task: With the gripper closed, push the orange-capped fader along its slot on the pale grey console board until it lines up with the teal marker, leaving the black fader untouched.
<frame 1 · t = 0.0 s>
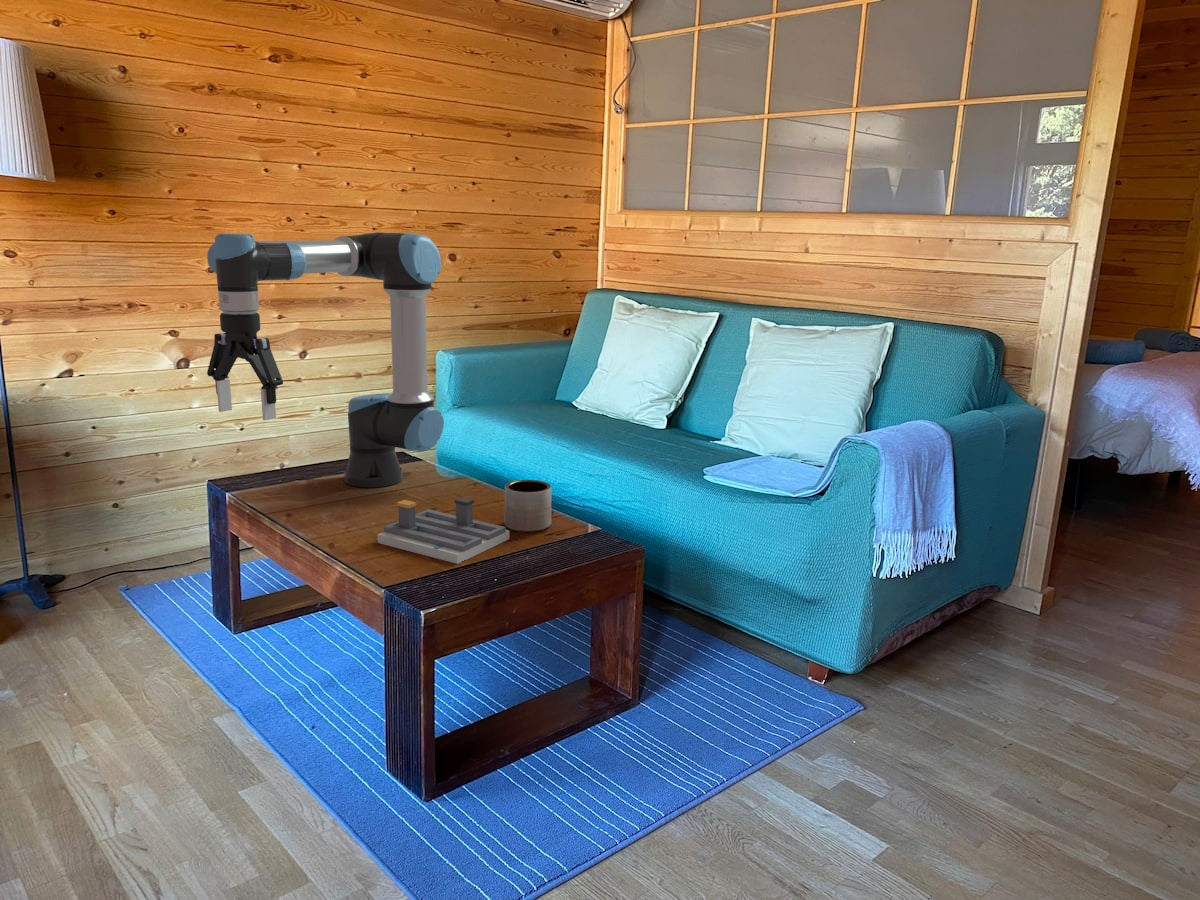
hand: (247, 415, 188), 28 cm above the table, fingers open, 13 cm apart
fader a: (407, 516, 197), point 5 cm above the table, slide at 0.0 cm
planter: (527, 526, 210), on the table
console: (444, 540, 198), on the table
fader b: (464, 513, 200), point 5 cm above the table, slide at 9.0 cm
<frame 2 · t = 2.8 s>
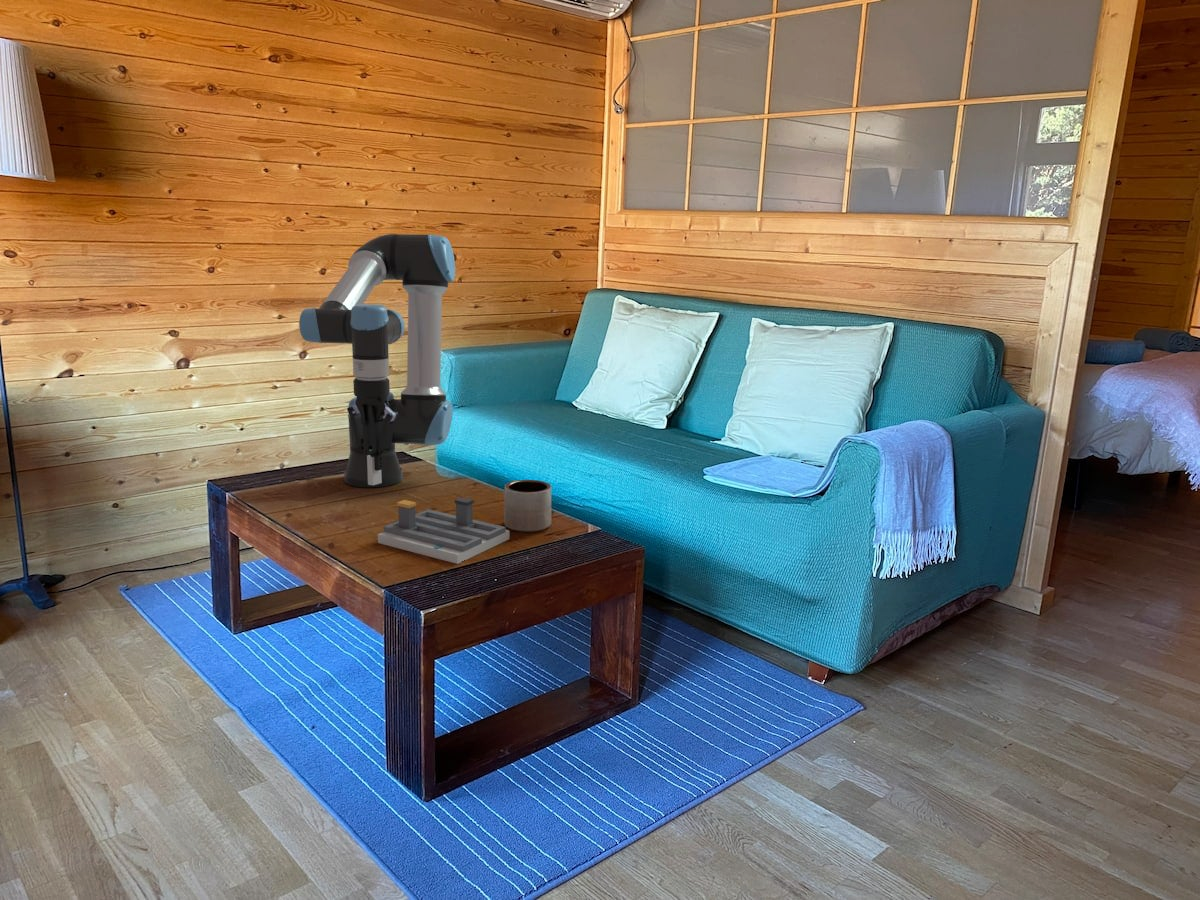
hand: (374, 483, 200), 11 cm above the table, fingers closed
nothing on the table moved.
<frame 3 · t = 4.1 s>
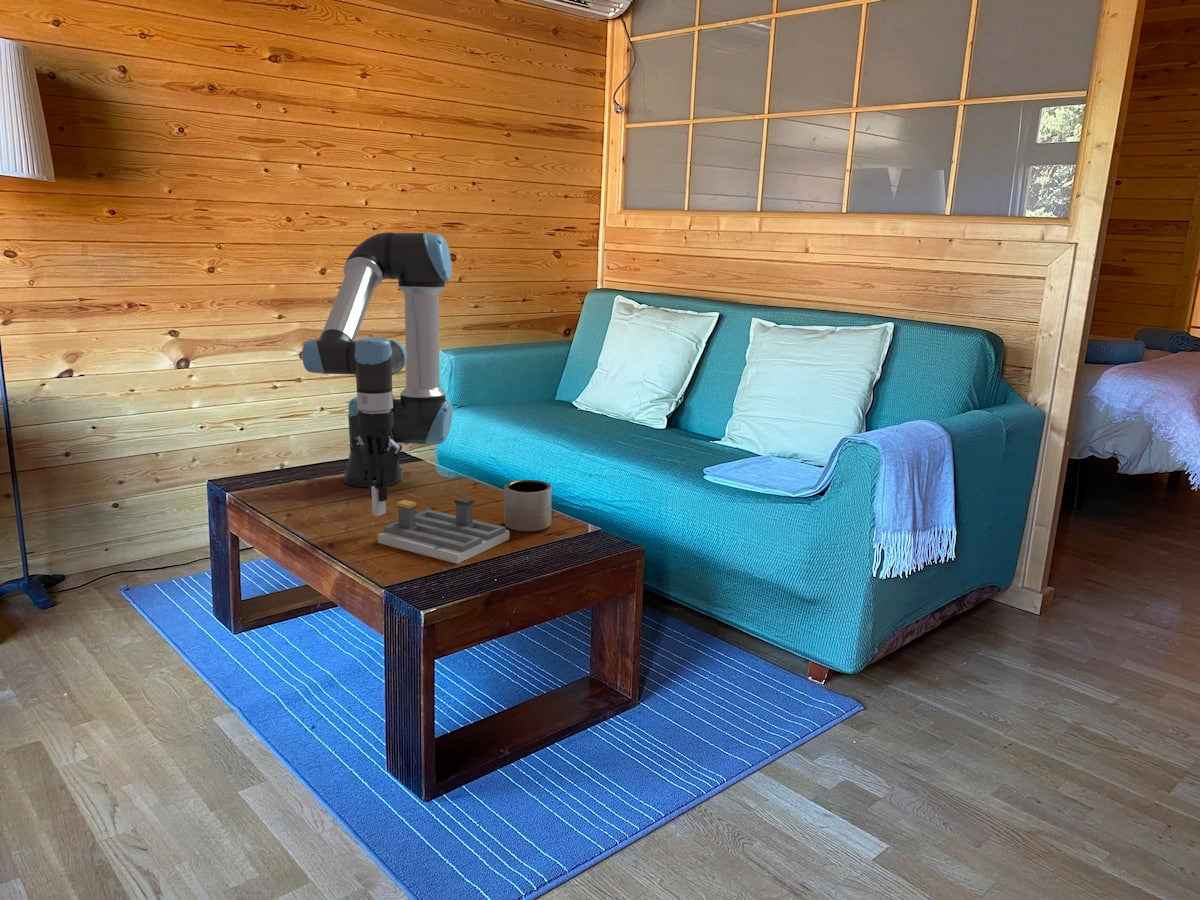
hand: (379, 513, 201), 4 cm above the table, fingers closed
nothing on the table moved.
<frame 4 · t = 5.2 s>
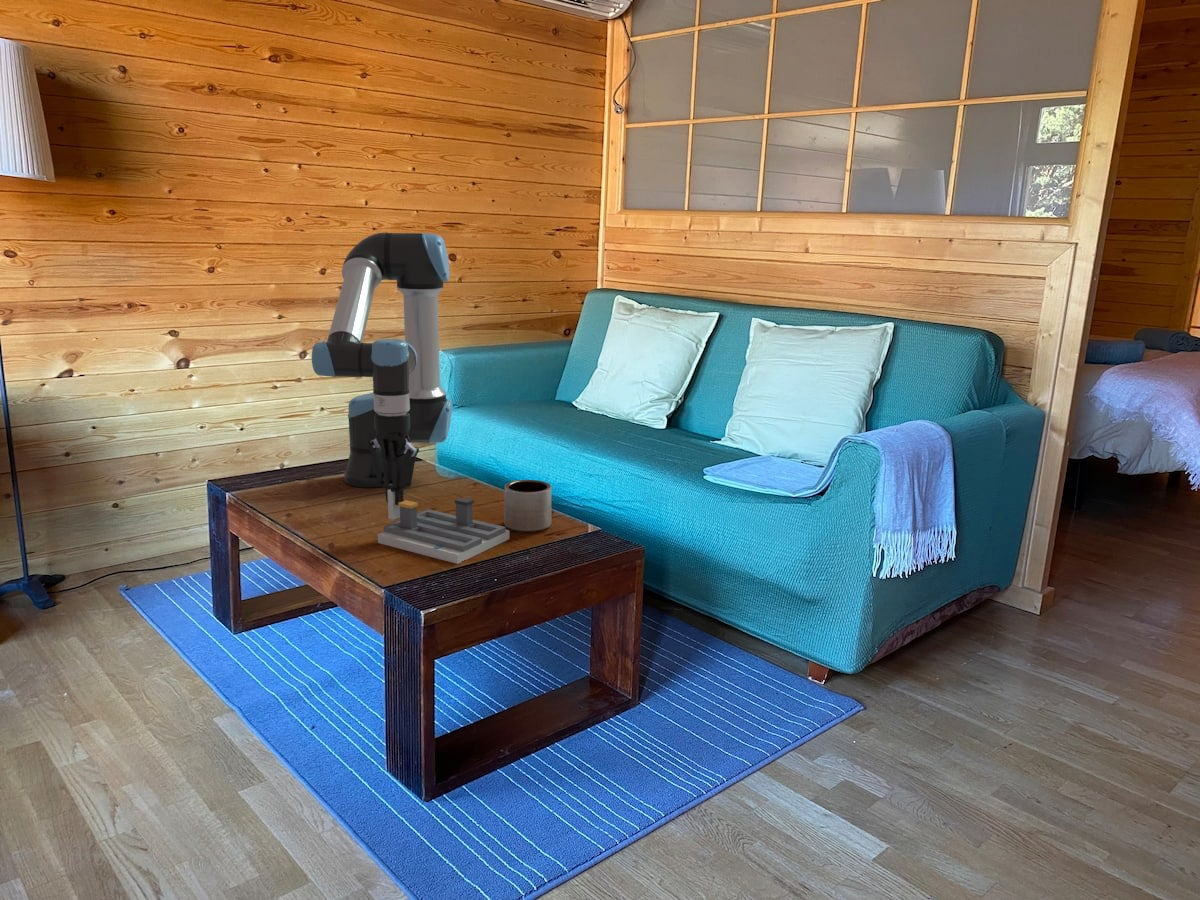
hand: (395, 517, 199), 5 cm above the table, fingers closed
fader a: (408, 516, 197), point 5 cm above the table, slide at 0.4 cm, touching gripper
everything else where it was.
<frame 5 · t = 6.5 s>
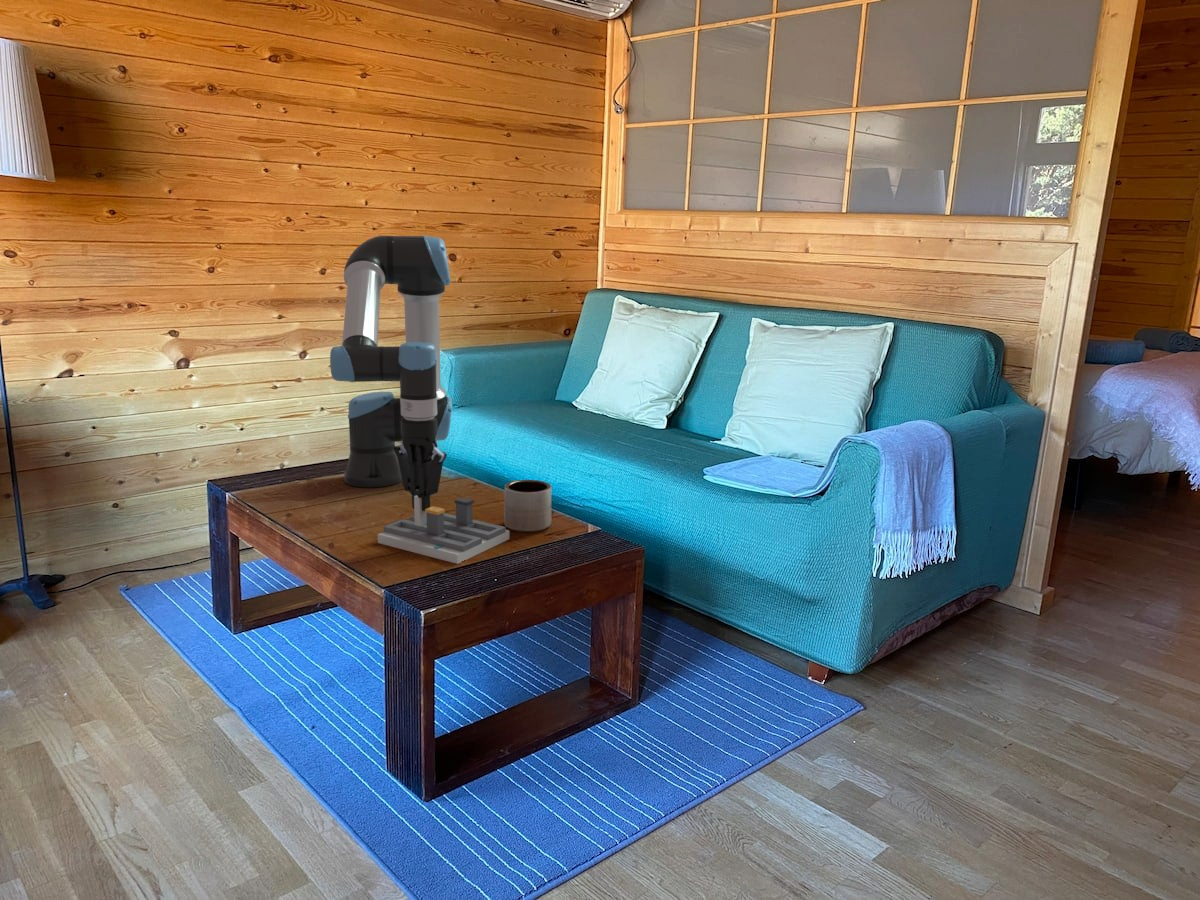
hand: (421, 523, 195), 5 cm above the table, fingers closed
fader a: (435, 523, 193), point 5 cm above the table, slide at 8.0 cm, touching gripper
everything else where it was.
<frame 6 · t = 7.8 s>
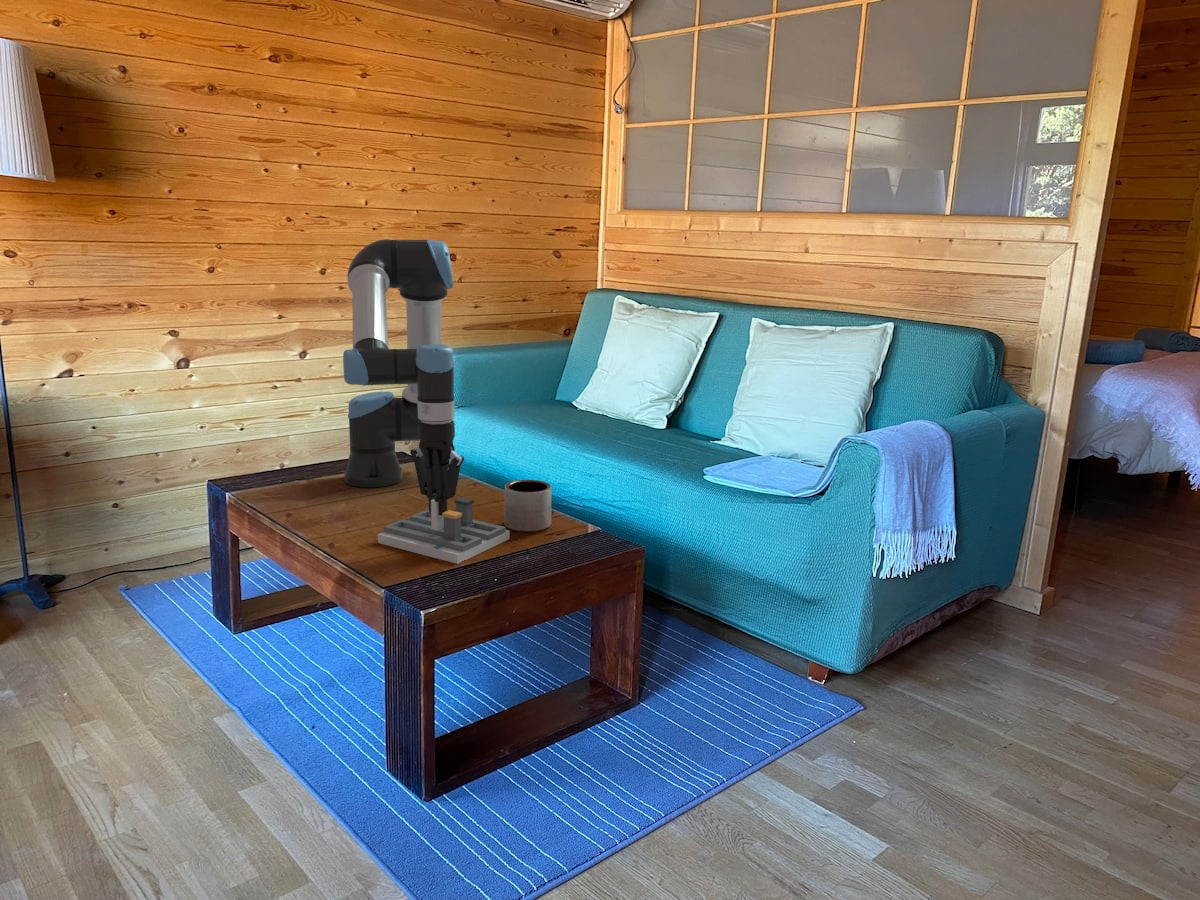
hand: (438, 528, 193), 5 cm above the table, fingers closed
fader a: (452, 527, 191), point 5 cm above the table, slide at 12.6 cm, touching gripper
everything else where it was.
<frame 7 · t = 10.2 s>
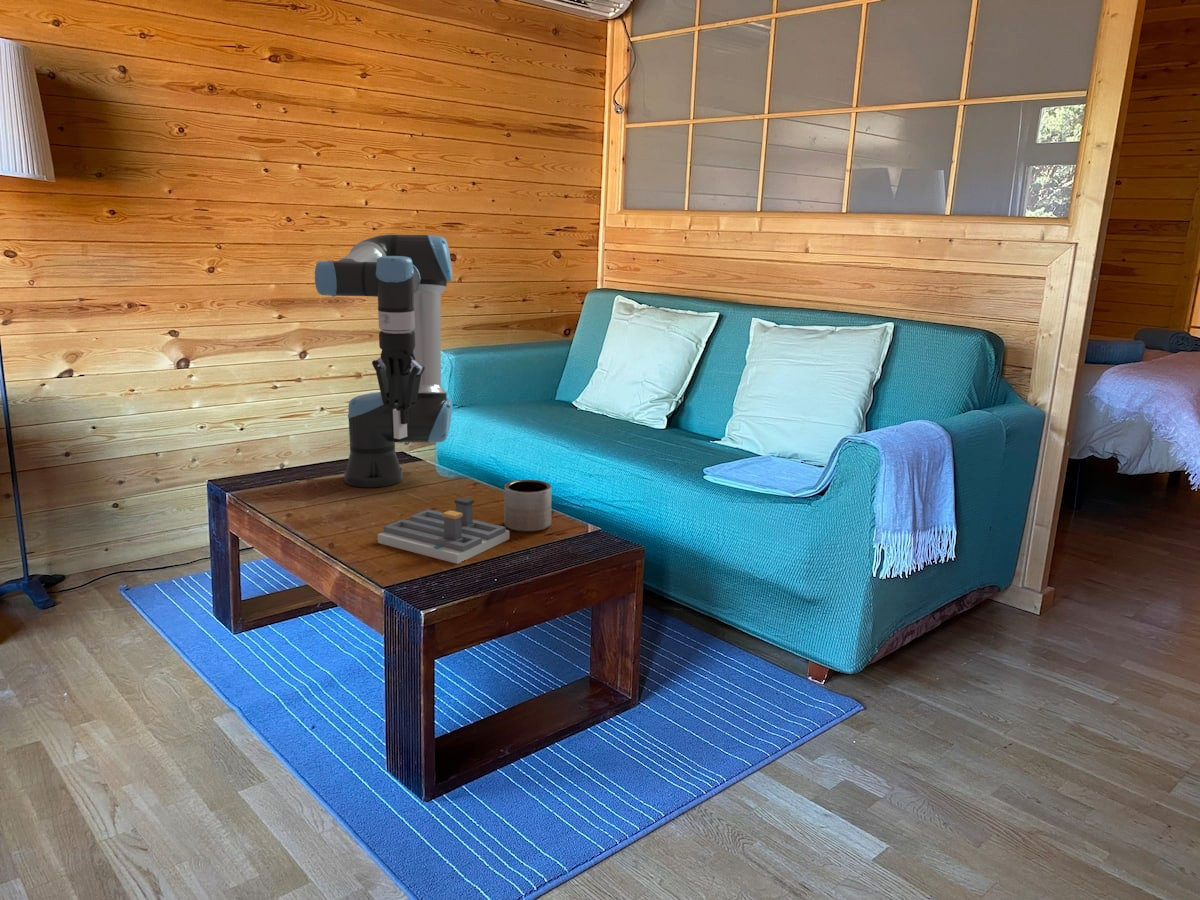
hand: (400, 437, 199), 22 cm above the table, fingers closed
fader a: (452, 527, 191), point 5 cm above the table, slide at 12.7 cm
everything else where it was.
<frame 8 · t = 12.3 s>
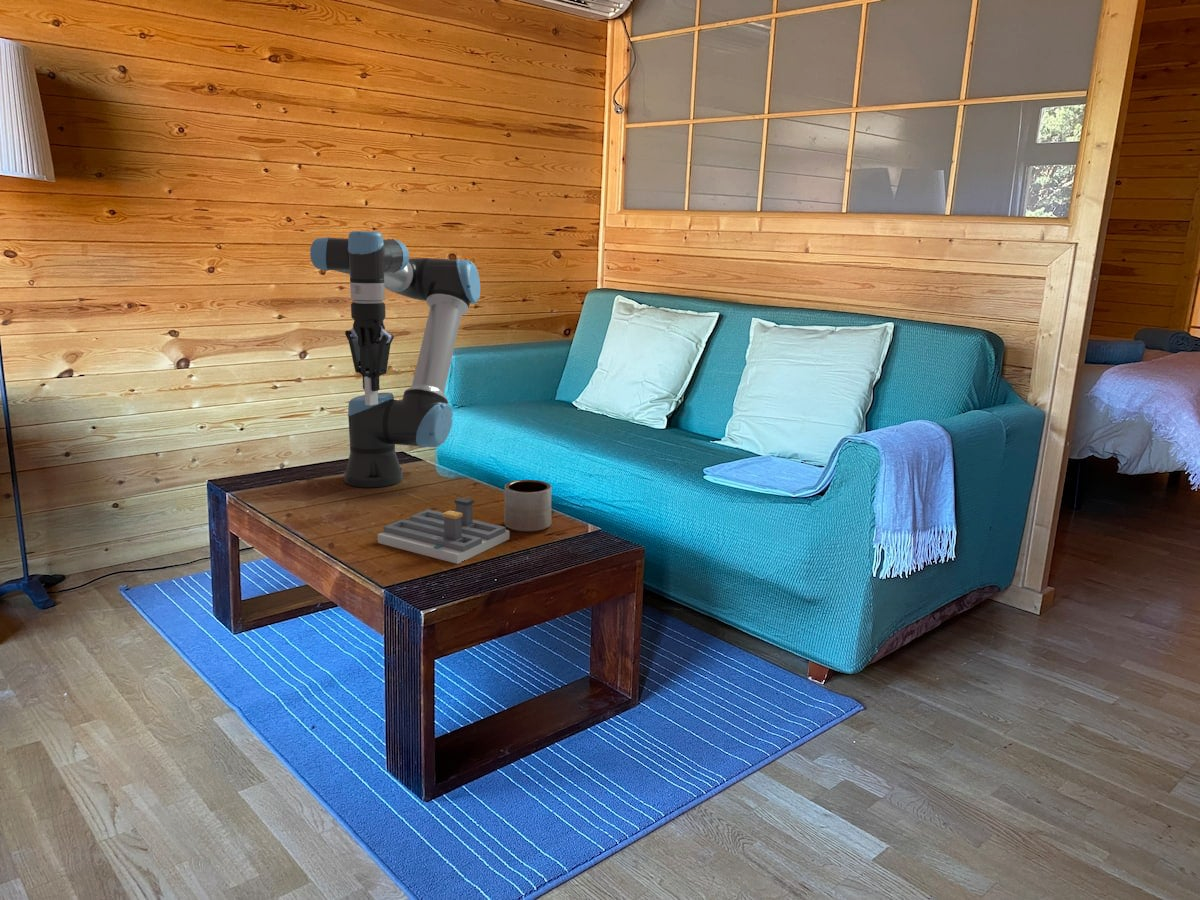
hand: (371, 404, 210), 26 cm above the table, fingers closed
nothing on the table moved.
at the end: fader a slide at 12.7 cm; fader b slide at 9.0 cm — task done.
